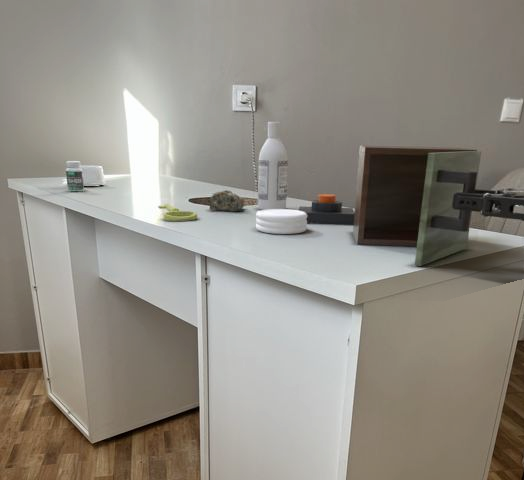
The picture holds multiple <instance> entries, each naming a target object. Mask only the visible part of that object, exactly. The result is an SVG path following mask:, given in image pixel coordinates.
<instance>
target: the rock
mask: <svg viewBox="0 0 524 480" xmlns="http://www.w3.org/2000/svg"><path fill="white" fill-rule="evenodd" d="M244 202H245V201H244V199H243V198H242V197H240V196H239V195H238V194H236V193H233V192H232V191H231V190H227V189H226V190H221V191H217V192H215V193H212V195H211V197H210V198H209V200H208V203H209V210H210V211H212V212H216V211H222V212H223V211H224V212H240V211H242V210H243V208H244Z"/></svg>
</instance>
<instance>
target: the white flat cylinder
mask: <svg viewBox="0 0 524 480" xmlns="http://www.w3.org/2000/svg"><path fill="white" fill-rule="evenodd" d="M255 216H256V219H255V222H256V225H255V228H256V230H257V231H259V232H261V233H266V234H274V235H295V234H300V233H304V232H306V230H307V229H308V227H307V224H308V223H307V220H306V218H307V214H306V213H305V212H303V211H299V209H288V208H287V209H267V210H258V211H257V212H256V213H255Z"/></svg>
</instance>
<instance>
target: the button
mask: <svg viewBox="0 0 524 480" xmlns="http://www.w3.org/2000/svg"><path fill="white" fill-rule="evenodd" d="M318 200H319V202H321V203H335V201H336V194H329V193H325V194H324V193H323V194H321V193H320V194H319V195H318Z"/></svg>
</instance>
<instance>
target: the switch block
mask: <svg viewBox="0 0 524 480" xmlns="http://www.w3.org/2000/svg"><path fill="white" fill-rule="evenodd" d="M298 211H303V212H305V213H306V214H307V218H306V220H307V224H322V225H349V226H350V225H351V226H353V225H354V213H355V209H354V208H353V207H343V201H340V200H335V203H321V202H319V199H315V200H311V206H302V205H301V206H299V207H298Z"/></svg>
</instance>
